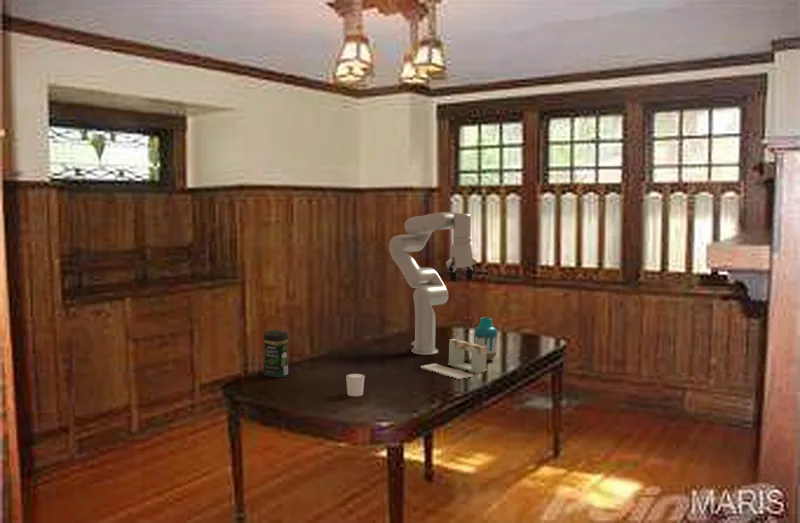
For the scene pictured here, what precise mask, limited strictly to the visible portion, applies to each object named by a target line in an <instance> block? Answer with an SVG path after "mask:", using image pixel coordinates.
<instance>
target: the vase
mask: <svg viewBox="0 0 800 523" xmlns="http://www.w3.org/2000/svg"><path fill="white" fill-rule="evenodd" d="M498 339H499V338H498V330H497V328H496V327H495V326H494V325H493V318H492V317H489V316H488V317H485V316H483V317H480V318H479V324H478V326H475V328H474V334H473V343H474V344H478V345H482V346H486V347H487V354H486V362H487V361H492V360H494V359H495V357H496V356H497V352H498Z"/></svg>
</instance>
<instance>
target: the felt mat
mask: <svg viewBox="0 0 800 523" xmlns="http://www.w3.org/2000/svg"><path fill="white" fill-rule="evenodd" d="M420 368H421V369H422V370H426V371H429V372H432V371H433V373H435V372H436V374H438V373H439V374H438V375H442V376H445V377H448V376H449V378H451V377H453V378H452V379H454V378H456V379H455V380H458V379H461V380H464V379H463V378H466V379H469V378H468V377H470V378H474V374H472V373H468V372H464V371H461V370H457V369H454V368H453V367H452V368H451V367H448V366H443V365H440V364H438V363H430V364H424V365H420Z"/></svg>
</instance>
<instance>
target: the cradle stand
mask: <svg viewBox="0 0 800 523" xmlns="http://www.w3.org/2000/svg"><path fill="white" fill-rule="evenodd" d="M464 351H465V350H462V349H458V348H456V344H455V343H448V362H447V366H449V365H451V366H450V367H453V366H454V368H456V367H457V368H456V369H460V368H461V369H460V370H463V369H464V370H463V371H466V370H468V371H467V372H470V371H471V372H470V373H473V372H474V374H481V373H480V372H482V373H486V372H485V371H487V372H488V368H487V361H486V354H482V355H481V354H478V349H475V348H472V352H471V362H470V363H466V362H465V361H464Z"/></svg>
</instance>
